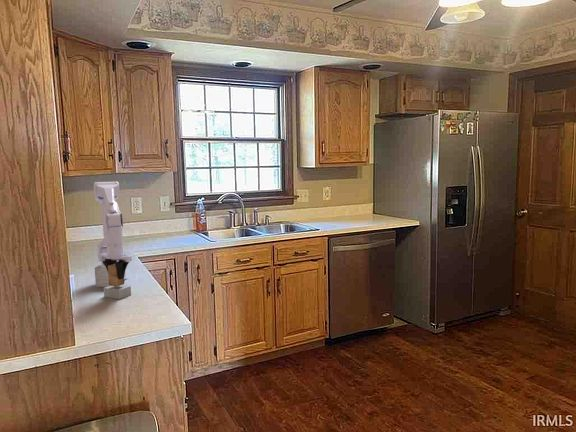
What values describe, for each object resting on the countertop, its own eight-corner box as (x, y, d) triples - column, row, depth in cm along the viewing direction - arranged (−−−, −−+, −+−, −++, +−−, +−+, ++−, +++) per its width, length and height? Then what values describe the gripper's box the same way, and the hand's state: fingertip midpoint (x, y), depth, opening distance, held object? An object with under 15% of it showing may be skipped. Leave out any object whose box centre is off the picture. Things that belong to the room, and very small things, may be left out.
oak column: (116, 282, 173) (115, 263, 172) (124, 284, 171) (123, 264, 170) (108, 285, 169) (107, 265, 168) (116, 286, 168) (115, 266, 167)
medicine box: (118, 284, 187) (117, 264, 186) (114, 287, 183) (113, 267, 182) (99, 284, 187) (98, 264, 186) (95, 287, 182) (94, 267, 181)
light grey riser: (116, 292, 175) (115, 284, 175) (131, 294, 172) (130, 286, 172) (104, 296, 170) (103, 287, 169) (119, 299, 167) (119, 290, 166)
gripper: (92, 244, 168) (94, 278, 169) (121, 247, 162) (123, 282, 163) (107, 241, 174) (109, 274, 176) (134, 243, 168) (136, 278, 170)
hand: (116, 278), depth 170 cm, fingers closed on oak column, 4 cm apart
